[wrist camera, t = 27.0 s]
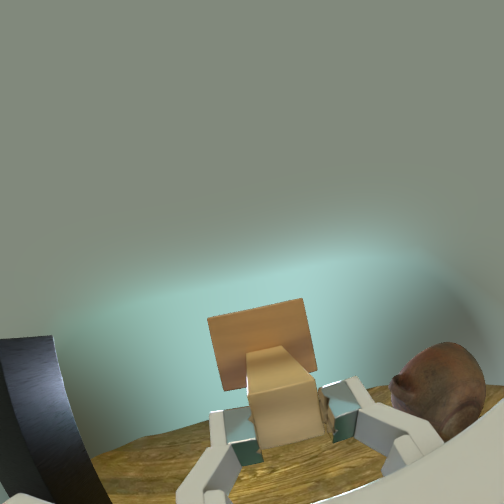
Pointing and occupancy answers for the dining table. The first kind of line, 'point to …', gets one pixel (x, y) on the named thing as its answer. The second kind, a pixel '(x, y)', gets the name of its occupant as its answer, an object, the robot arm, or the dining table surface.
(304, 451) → the dining table surface
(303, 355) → the mallet
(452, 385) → the jug
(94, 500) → the stand
